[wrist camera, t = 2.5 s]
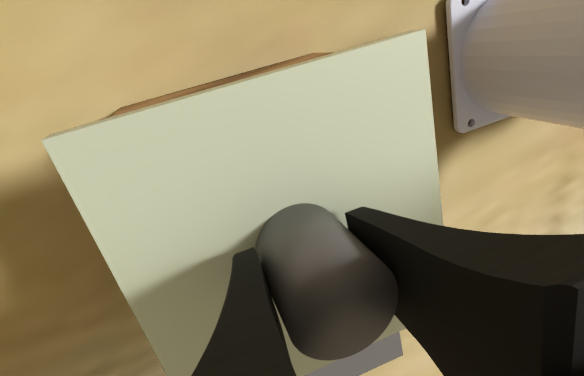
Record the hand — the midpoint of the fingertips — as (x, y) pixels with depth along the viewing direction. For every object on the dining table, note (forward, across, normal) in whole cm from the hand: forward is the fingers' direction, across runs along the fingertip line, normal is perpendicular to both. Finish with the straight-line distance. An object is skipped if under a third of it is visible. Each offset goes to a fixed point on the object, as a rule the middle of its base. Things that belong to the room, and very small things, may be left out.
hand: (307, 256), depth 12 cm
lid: (+2, 0, 0) cm, 2 cm away
